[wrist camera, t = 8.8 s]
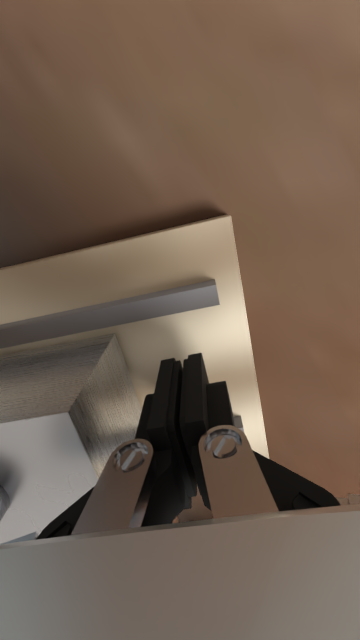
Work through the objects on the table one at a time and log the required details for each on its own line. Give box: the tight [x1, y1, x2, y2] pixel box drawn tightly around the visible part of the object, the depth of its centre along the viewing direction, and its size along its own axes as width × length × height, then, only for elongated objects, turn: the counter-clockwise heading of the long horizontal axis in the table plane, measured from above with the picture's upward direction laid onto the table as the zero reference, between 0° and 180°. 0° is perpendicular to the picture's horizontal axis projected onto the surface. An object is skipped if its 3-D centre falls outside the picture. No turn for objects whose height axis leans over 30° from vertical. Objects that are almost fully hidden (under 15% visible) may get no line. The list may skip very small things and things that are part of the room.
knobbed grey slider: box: [0, 333, 142, 544], centre depth 11 cm, size 7×8×6 cm
